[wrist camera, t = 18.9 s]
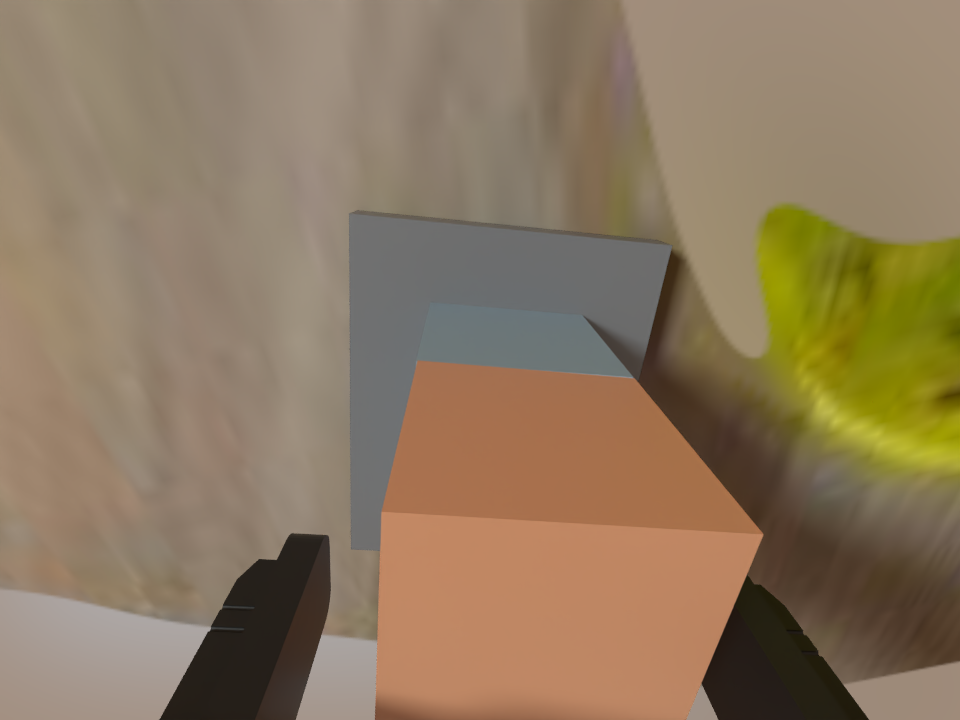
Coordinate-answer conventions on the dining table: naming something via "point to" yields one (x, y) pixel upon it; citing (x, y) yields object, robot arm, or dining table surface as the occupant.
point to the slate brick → (516, 340)
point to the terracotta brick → (549, 552)
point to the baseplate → (473, 282)
